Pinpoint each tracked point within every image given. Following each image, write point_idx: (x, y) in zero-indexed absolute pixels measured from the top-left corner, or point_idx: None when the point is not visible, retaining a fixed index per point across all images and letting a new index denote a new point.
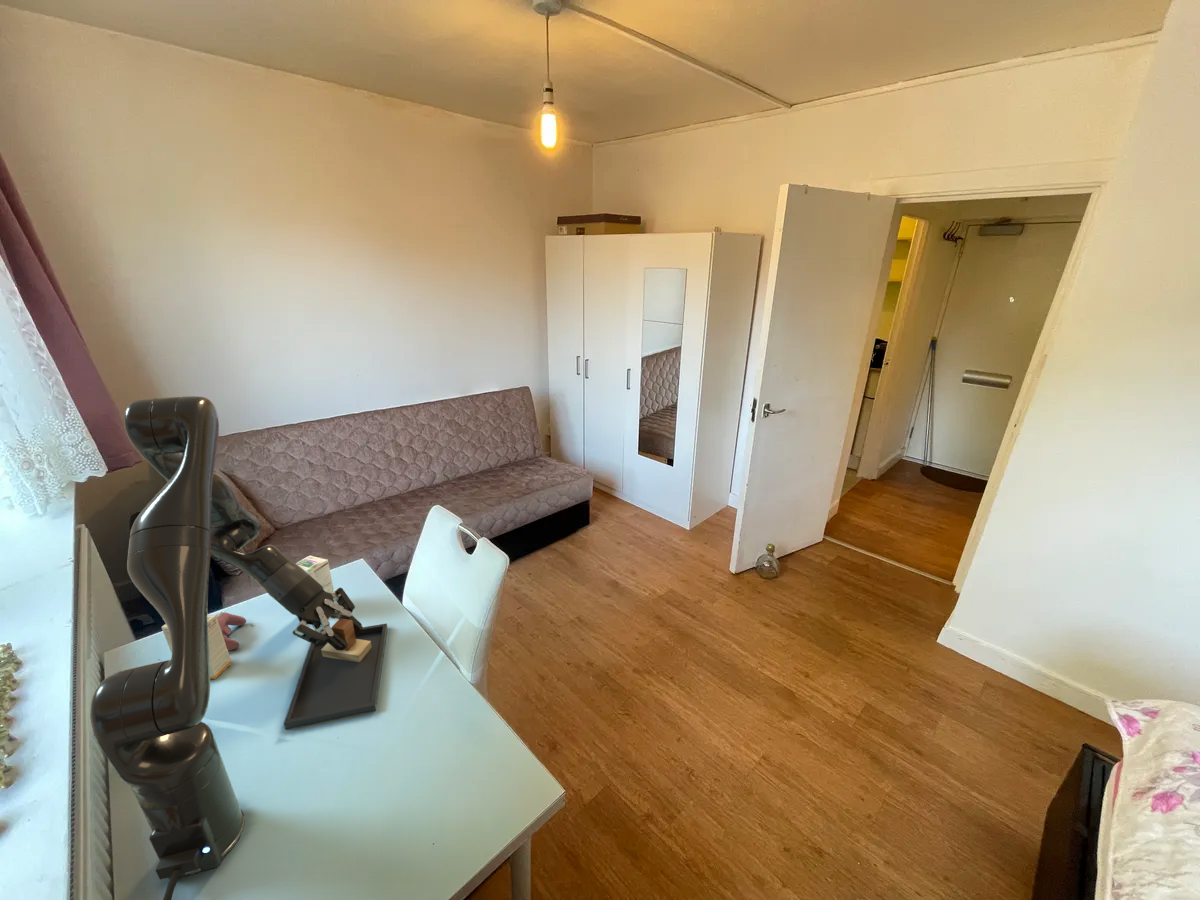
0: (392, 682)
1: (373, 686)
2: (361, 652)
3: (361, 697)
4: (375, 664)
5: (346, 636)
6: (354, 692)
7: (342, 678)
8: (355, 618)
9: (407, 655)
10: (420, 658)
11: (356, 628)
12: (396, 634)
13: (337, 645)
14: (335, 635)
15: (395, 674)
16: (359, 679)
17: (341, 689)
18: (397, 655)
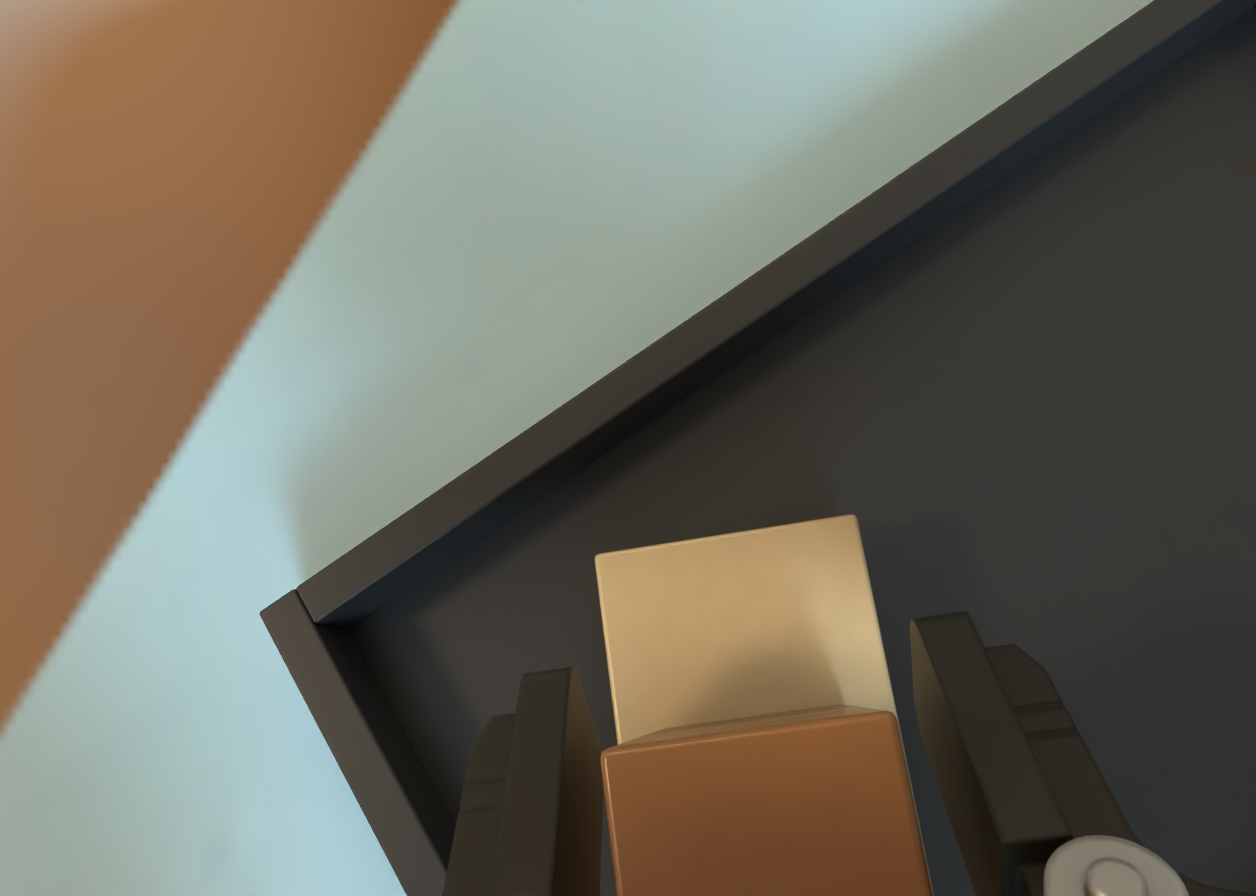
0: (898, 91)
1: (1118, 70)
2: (794, 523)
3: (1207, 176)
4: (802, 354)
5: (838, 711)
6: (1192, 285)
7: (1111, 544)
8: (452, 851)
9: (566, 191)
10: (561, 64)
11: (580, 748)
12: (344, 488)
13: (1061, 706)
14: (1034, 810)
15: (808, 131)
16: (1036, 361)
17: (1235, 434)
18: (597, 276)
